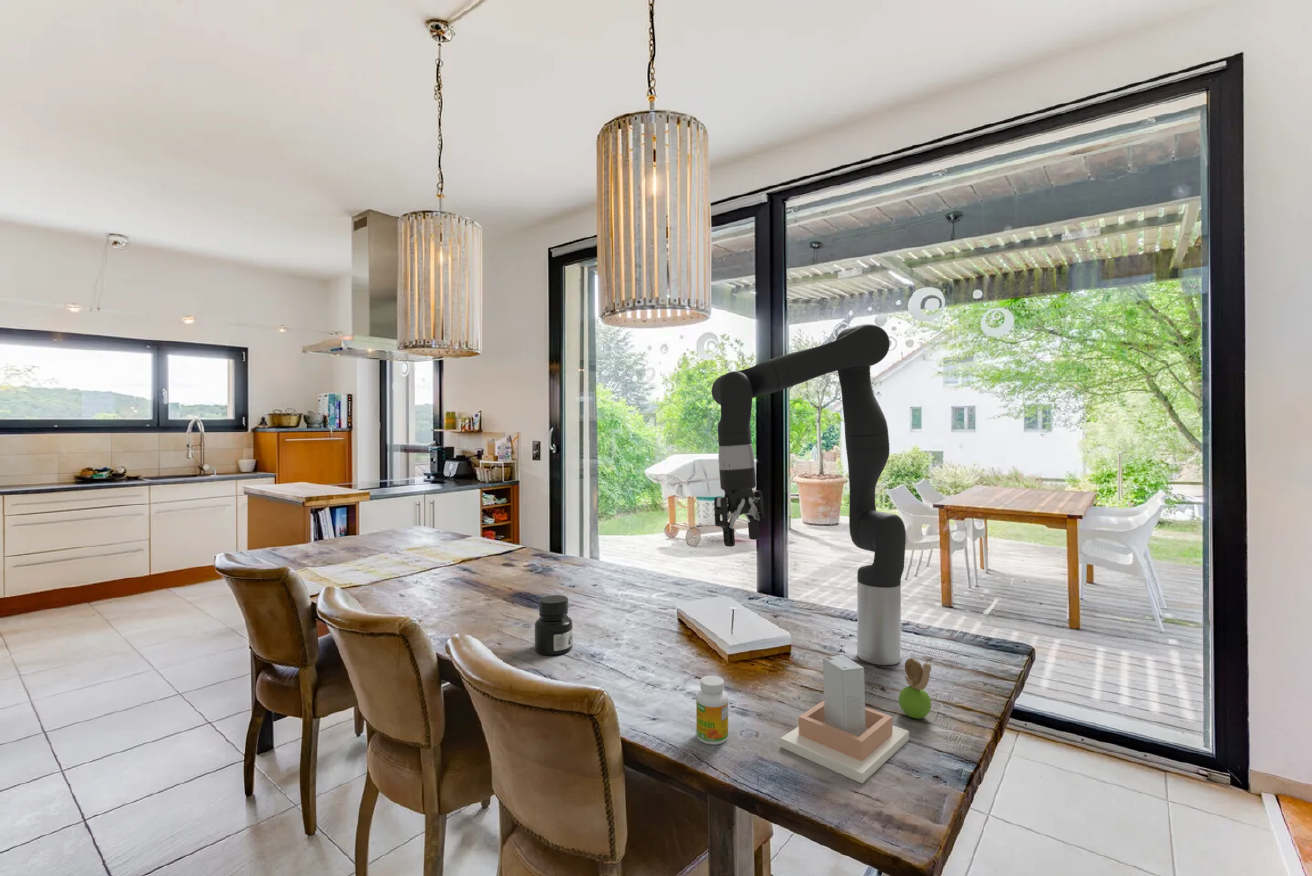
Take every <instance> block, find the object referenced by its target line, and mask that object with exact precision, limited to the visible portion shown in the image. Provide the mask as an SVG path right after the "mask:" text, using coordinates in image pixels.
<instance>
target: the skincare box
mask: <svg viewBox="0 0 1312 876" xmlns="http://www.w3.org/2000/svg"><path fill="white" fill-rule="evenodd" d="M822 678H823V680H822V681H823V700H824V712H825V724H827V725H830V726H832V727H835V728H837V729H840V730H843V731H845V732H848V733H850V734H853V735H855V736H858V737H859V736H861V735H862V734H863V733H864V732H865V731H866V719H865V707H866V695H865V694H866V693H865V691H866V690H865V689H866V688H865V685H866V684H865V668H864V666H862V665H860V664H858V663H857V662H855V661H854V660H852V659H850V658H849V657H847V656H846V655H843V654H839V655H838V654H837V655H832V656H827V657H822Z"/></svg>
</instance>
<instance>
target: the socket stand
mask: <svg viewBox="0 0 1312 876" xmlns="http://www.w3.org/2000/svg"><path fill="white" fill-rule="evenodd" d="M865 719H866V731H865V732H864V733H863V734H862V735H861V736H859V737H858V736H855V735H853V734H850V733H848V732H845V731H843V730H840V729H837V728H835V727H832V726H830V725H827V724H825V712H824V699H823V700H822V701H821V702H819V703H817V704H816V705H814V706H812V707H811V708H810V709H809V710H807V711H805V712H804V713H802V714H801V715H798V726H796V727H795V728H793V729H792V730H791V731H789V732H787V733H786V734H784V735H783V736H781V737H780V748H782V749H784V750H786V751H789V752H791V753H793V754H796V755H797V756H800V757H802V758H804V759H807V760H809V761H810V762H813V763H815V764H818V765H820V766H822V767H824V768H827V769H829V770H831V771H833V772H835V773H838V774H840V775H841V776H844V777H847V778H849V779H850V780H853V781H856V782H857V783H860V784H863V783H865V782H866V781H867V780H868V779H869V778H870V777H871V776H873V774H874V773H876V772H877V770H879V768H881V767H882V766H883V765H884V764H885V763H886V762H887V761H889V759H891V757H892V756H893V755H895V754H896V753H897V752H898V751H899V750H900V749H901V748H902V747H903V746H904V745H905V744H906V743H907V742H909V740H910V731H909V730H907V729H904V728H901V727H899V726H895V725H893V721H894V720H893V716H892V715H889V714H887V713H884V712H882V711H878V710H875V709H872V708H869V707H866V706H865Z"/></svg>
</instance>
